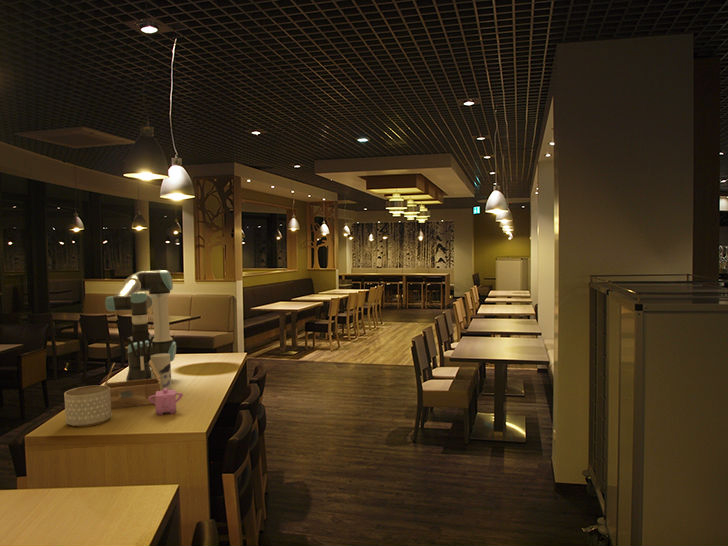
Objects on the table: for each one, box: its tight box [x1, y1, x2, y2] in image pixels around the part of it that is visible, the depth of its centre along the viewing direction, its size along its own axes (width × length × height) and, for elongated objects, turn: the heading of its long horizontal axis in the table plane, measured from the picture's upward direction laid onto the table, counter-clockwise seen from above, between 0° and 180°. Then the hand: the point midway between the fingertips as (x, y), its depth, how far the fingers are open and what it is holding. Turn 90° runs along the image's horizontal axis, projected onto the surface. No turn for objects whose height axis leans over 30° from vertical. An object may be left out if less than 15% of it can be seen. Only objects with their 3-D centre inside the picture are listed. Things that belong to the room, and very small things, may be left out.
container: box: [150, 353, 173, 391], centre depth 312 cm, size 10×10×20 cm
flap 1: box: [103, 362, 116, 386], centre depth 287 cm, size 12×1×10 cm, turn 18°
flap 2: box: [149, 359, 160, 381], centre depth 293 cm, size 12×1×10 cm, turn 18°
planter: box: [63, 384, 112, 427], centre depth 261 cm, size 19×19×14 cm
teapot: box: [148, 388, 184, 416], centre depth 272 cm, size 15×13×11 cm
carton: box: [105, 378, 161, 410], centre depth 290 cm, size 16×26×10 cm, turn 108°
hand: (142, 369), depth 292 cm, fingers closed
